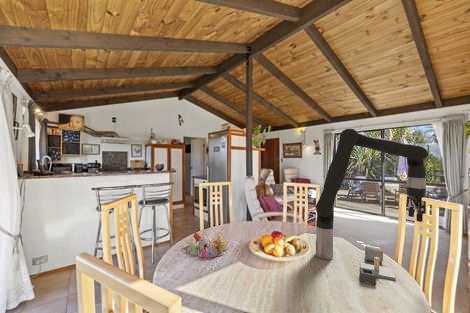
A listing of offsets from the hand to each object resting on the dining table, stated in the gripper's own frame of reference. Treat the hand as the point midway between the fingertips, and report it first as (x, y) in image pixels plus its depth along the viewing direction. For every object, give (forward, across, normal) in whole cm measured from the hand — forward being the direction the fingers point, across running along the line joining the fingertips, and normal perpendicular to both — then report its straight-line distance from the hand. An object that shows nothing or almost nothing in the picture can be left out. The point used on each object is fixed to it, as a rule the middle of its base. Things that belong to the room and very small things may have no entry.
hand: (415, 219), depth 113 cm
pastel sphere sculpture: (+29, +4, -110) cm, 114 cm away
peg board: (+28, +4, -17) cm, 33 cm away
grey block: (+28, +13, -24) cm, 39 cm away
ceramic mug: (+28, -11, -15) cm, 33 cm away
